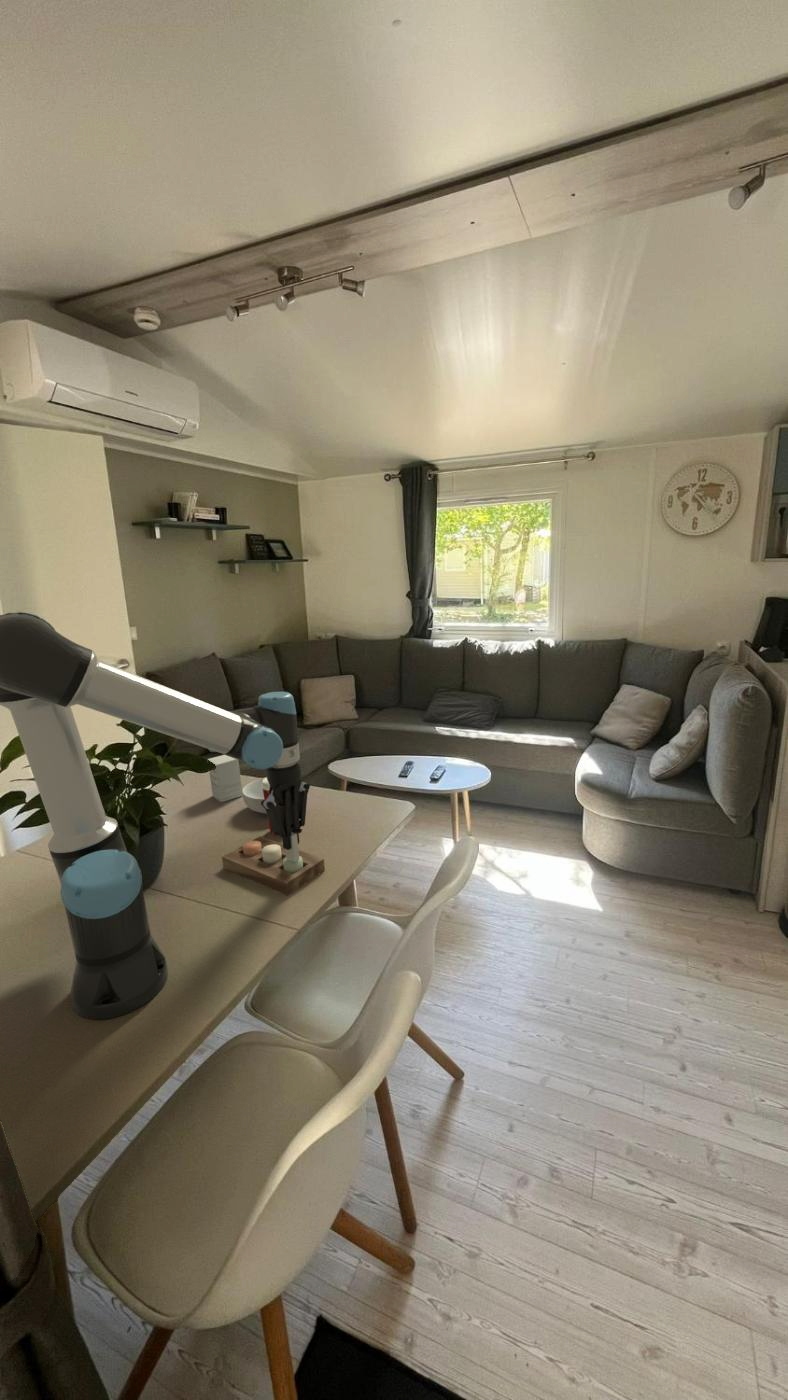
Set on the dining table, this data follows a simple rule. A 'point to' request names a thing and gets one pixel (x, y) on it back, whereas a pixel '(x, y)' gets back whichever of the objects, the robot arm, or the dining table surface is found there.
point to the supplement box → (225, 778)
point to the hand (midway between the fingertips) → (292, 859)
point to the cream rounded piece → (271, 854)
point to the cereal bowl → (254, 796)
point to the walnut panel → (273, 868)
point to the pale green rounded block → (293, 865)
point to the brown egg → (252, 848)
